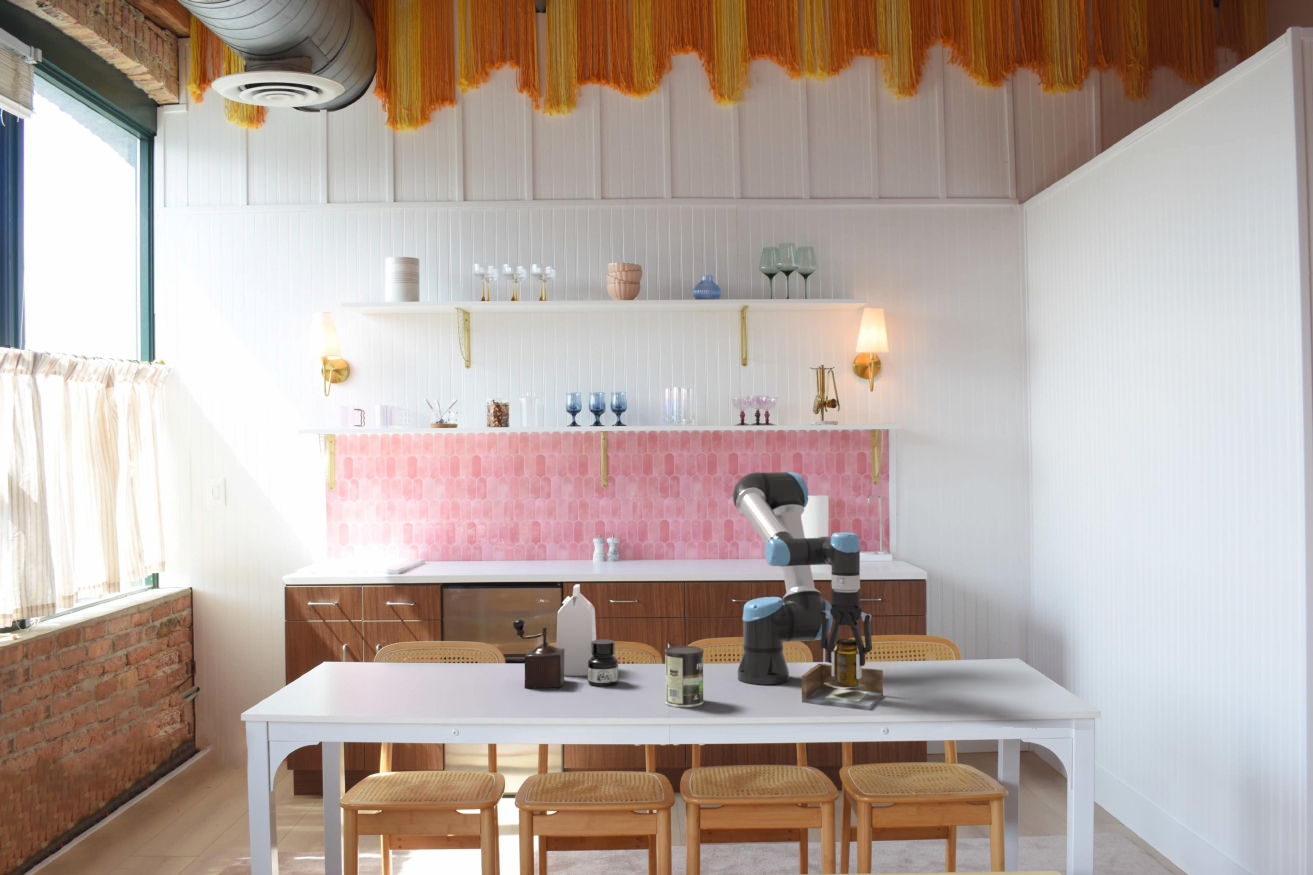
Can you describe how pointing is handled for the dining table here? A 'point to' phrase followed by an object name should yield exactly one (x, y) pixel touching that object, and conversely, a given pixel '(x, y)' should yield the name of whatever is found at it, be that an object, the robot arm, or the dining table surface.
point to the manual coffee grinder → (542, 662)
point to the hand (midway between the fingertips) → (846, 676)
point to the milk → (576, 633)
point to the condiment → (845, 665)
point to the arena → (848, 697)
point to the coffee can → (684, 676)
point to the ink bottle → (603, 664)
